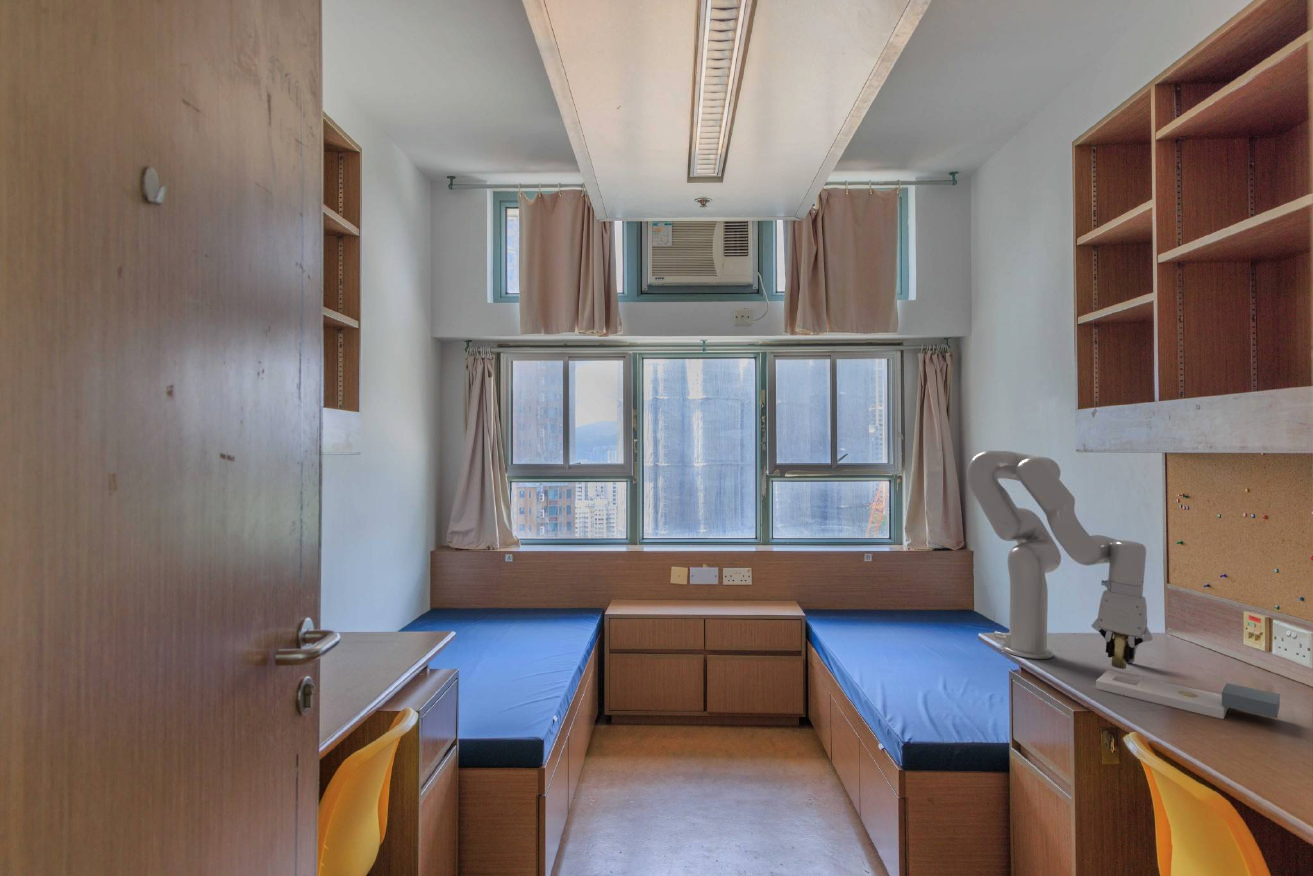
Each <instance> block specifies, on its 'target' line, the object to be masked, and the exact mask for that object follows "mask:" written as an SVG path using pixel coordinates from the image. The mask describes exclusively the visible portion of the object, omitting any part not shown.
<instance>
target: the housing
mask: <svg viewBox="0 0 1313 876" xmlns="http://www.w3.org/2000/svg"><path fill="white" fill-rule="evenodd" d="M1221 695H1222V706H1225V707H1229V708H1228V709H1234V710H1239V711H1243V712H1246V713H1251V714H1256V715H1261V716H1265V717H1269V718H1273V719H1277V718H1278V715H1279V711H1280V703H1281V702H1280V700H1281V699H1280V698H1281V697H1280V693H1276V692H1272V691H1268V690H1267V691H1266V690H1262V689H1258V688H1252V687H1247V686H1243V685H1238V684H1234V683H1229V682H1226V684H1225V685H1224V688H1223V689H1222V691H1221Z"/></svg>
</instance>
